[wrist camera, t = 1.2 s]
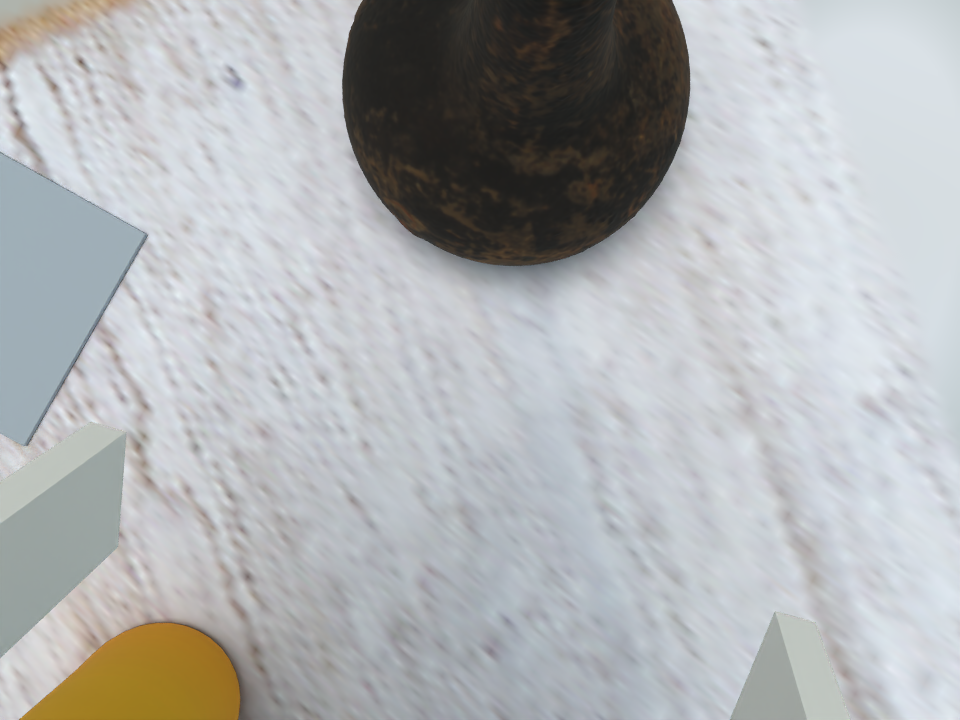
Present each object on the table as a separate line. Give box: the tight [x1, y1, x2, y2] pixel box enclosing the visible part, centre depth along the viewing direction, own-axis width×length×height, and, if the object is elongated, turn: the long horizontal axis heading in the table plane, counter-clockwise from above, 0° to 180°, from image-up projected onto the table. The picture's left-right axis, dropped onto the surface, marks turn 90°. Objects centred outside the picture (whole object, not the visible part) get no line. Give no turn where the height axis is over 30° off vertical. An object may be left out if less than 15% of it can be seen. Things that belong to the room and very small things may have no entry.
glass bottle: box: [342, 0, 690, 266], centre depth 36 cm, size 18×18×28 cm
